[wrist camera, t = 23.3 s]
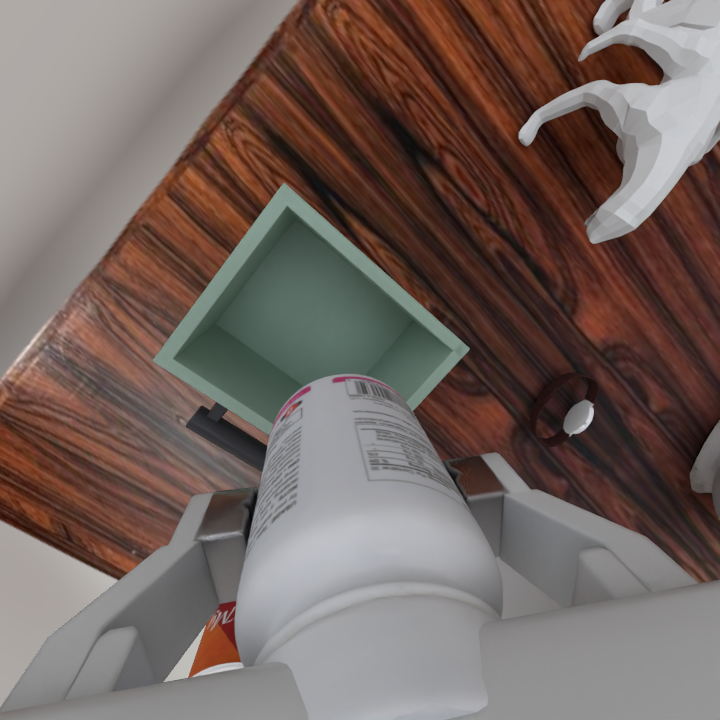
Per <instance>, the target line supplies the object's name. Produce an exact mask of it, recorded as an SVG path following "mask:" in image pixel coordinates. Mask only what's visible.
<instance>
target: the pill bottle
mask: <svg viewBox="0 0 720 720" xmlns="http://www.w3.org/2000/svg"><path fill="white" fill-rule="evenodd" d="M502 610H503V584H502V577H501V573H500V569H499V566H498V563H497V560H496V558H495V556H494V554H493V551H492V549H491V547H490V545H489V543H488V541H487V539H486V537H485V535H484V533H483V532H482V530H481V528H480V526H479V525H478V523H477V521H476V520H475V518H474V516H473V514H472V513H471V511H470V509H469V507H468V506H467V504H466V502H465V501H464V499H463V497H462V495H461V494H460V492H459V490H458V489H457V487H456V485H455V483H454V481H453V480H452V478H451V477H450V475H449V473H448V471H447V470H446V468H445V466H444V464H443V463H442V461H441V459H440V458H439V456H438V454H437V452H436V450H435V449H434V447H433V445H432V444H431V442H430V440H429V439H428V437H427V435H426V433H425V432H424V430H423V429H422V427H421V425H420V424H419V422H418V420H417V418H416V417H415V415H414V413H413V411H412V410H411V408H410V407H409V406H408V404H407V403H406V402H405V400H404V399H403V398H402V397H401V396H400V395H399V394H398V393H397V392H396V391H395V390H394V389H392V388H391V387H390V386H388V385H387V384H385V383H383V382H381V381H379V380H377V379H374V378H372V377H369V376H364V375H359V374H339V375H332V376H327V377H324V378H321V379H318V380H315V381H313V382H311V383H309V384H307V385H306V386H304V387H302V388H301V389H300V390H298V391H297V392H296V393H295V394H294V395H293V396H292V397H291V398H290V399H289V400H288V401H287V402H286V403H285V404H284V406H283V407H282V409H281V410H280V412H279V413H278V415H277V417H276V420H275V422H274V424H273V427H272V430H271V433H270V436H269V441H268V447H267V452H266V458H265V463H264V468H263V472H262V478H261V483H260V487H259V492H258V497H257V502H256V506H255V511H254V516H253V521H252V525H251V531H250V535H249V539H248V545H247V549H246V555H245V560H244V564H243V569H242V574H241V579H240V584H239V588H238V593H237V601H236V610H235V639H236V644H237V648H238V652H239V656H240V660H241V662H242V664H243V666H244V667H249V666H255V665H260V664H266V663H271V662H281V663H284V664H287V665H288V666H289V668H290V669H291V670H292V673H293V676H294V678H295V681H296V683H297V686H298V689H299V691H300V694H301V697H302V699H303V702H304V705H305V708H306V710H307V712H308V719H309V720H447V719H451V718H455V717H459V716H463V715H467V714H472V713H476V712H478V711H479V710H481V709H482V708H484V707H485V706H487V704H488V694H487V690H486V687H485V684H484V682H483V675H482V663H481V652H480V641H479V630H480V628H481V626H482V625H483V624H485V623H488V622H493V621H498V620H502V618H501V617H502Z"/></svg>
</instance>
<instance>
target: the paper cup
mask: <svg viewBox="0 0 720 720" xmlns="http://www.w3.org/2000/svg"><path fill="white" fill-rule="evenodd" d="M235 610H236V601H232V602H227V603H222V604H219V607H218V609H217V610H216V611H215V613H214V614H213V615H212V617H211V618H210V619H209V621H208V622H207V624H206V627H205V630H204V633H203V636H202V639H201V642H200V645H199V648H198V651H197V654H196V657H195V660H194V663H193V665H192V668H191V672H190V674H189V677H188V678H190V677H196V676H201V675H206V674H212V673H217V672H222V671H228V670H233V669H239V668H244V666H243V664H242V662H241V660H240V656H239V652H238V648H237V644H236V639H235Z"/></svg>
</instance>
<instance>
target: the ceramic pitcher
mask: <svg viewBox="0 0 720 720" xmlns="http://www.w3.org/2000/svg"><path fill="white" fill-rule="evenodd" d="M690 480H691V488H692V490H693V491H695V492H697V493H712V499H713V504H714V508H715V511H716V514H717V516H718V519H719V521H720V420H719V422H718V423H717V425H716V426H715V428H714V429H713V431H712V432H711V434H710V435H709V437H708V438H707V440H706V442H705V443H704V445H703V447H702V449H701V451H700V453H699V455H698V457H697V459H696V461H695V463H694V465H693V468H692V470H691V472H690Z"/></svg>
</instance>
